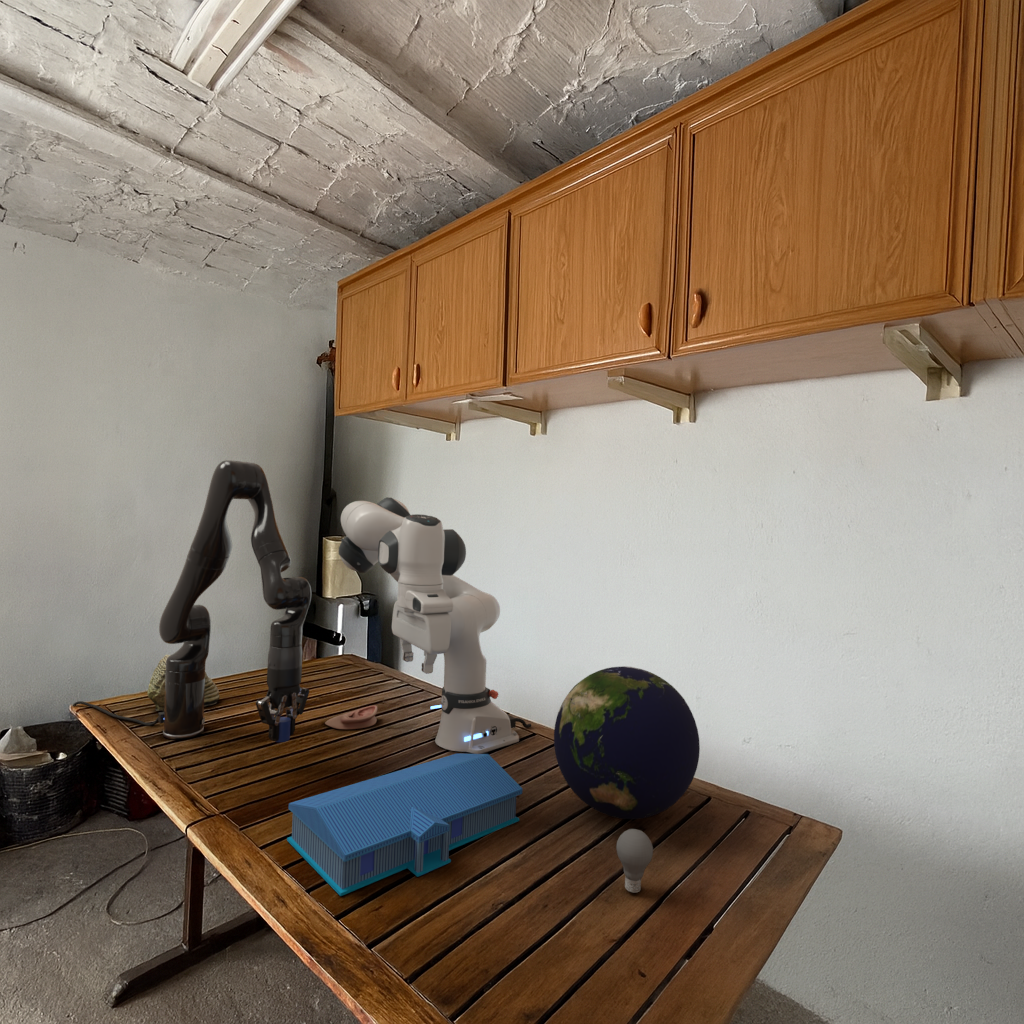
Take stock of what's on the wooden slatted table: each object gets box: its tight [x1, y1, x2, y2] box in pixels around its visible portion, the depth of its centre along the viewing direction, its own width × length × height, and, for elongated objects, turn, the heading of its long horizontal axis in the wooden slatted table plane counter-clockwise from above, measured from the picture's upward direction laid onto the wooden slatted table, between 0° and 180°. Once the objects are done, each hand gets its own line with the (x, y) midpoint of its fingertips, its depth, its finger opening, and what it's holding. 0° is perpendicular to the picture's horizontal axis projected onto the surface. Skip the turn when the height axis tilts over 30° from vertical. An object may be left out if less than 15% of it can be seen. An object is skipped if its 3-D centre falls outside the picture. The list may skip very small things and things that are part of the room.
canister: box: [274, 716, 291, 743], centre depth 146 cm, size 4×4×5 cm
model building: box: [286, 752, 524, 897], centre depth 121 cm, size 39×24×10 cm, turn 132°
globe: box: [553, 665, 700, 820], centre depth 133 cm, size 30×30×30 cm
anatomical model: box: [324, 704, 378, 730], centre depth 177 cm, size 13×4×12 cm
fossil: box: [147, 654, 221, 712], centre depth 185 cm, size 9×18×15 cm, turn 132°
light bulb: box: [615, 828, 654, 894], centre depth 106 cm, size 6×6×10 cm
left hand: (281, 737), depth 147 cm, fingers closed on canister, 3 cm apart
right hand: (417, 666), depth 126 cm, fingers open, 8 cm apart
